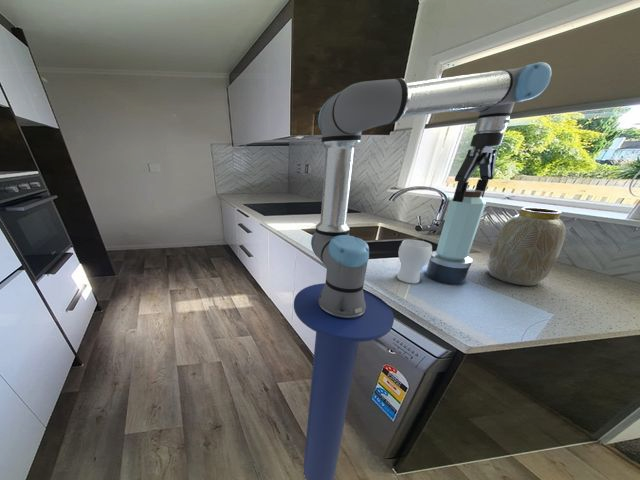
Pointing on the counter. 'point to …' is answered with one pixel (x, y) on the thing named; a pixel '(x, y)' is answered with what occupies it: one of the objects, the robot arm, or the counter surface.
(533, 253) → the vase
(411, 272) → the cup
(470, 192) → the water bottle
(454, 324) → the counter surface
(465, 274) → the navy round container
